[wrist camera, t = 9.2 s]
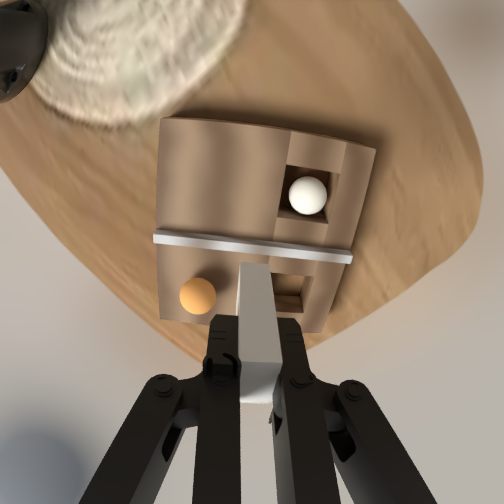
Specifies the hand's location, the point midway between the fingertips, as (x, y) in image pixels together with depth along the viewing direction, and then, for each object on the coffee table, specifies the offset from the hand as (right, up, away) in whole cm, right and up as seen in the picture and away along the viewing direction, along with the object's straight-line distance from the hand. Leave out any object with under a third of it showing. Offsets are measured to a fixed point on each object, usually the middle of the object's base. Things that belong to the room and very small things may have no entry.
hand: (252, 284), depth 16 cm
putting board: (0, +4, +18) cm, 19 cm away
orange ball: (-6, -3, +16) cm, 17 cm away
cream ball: (+6, +8, +14) cm, 17 cm away
